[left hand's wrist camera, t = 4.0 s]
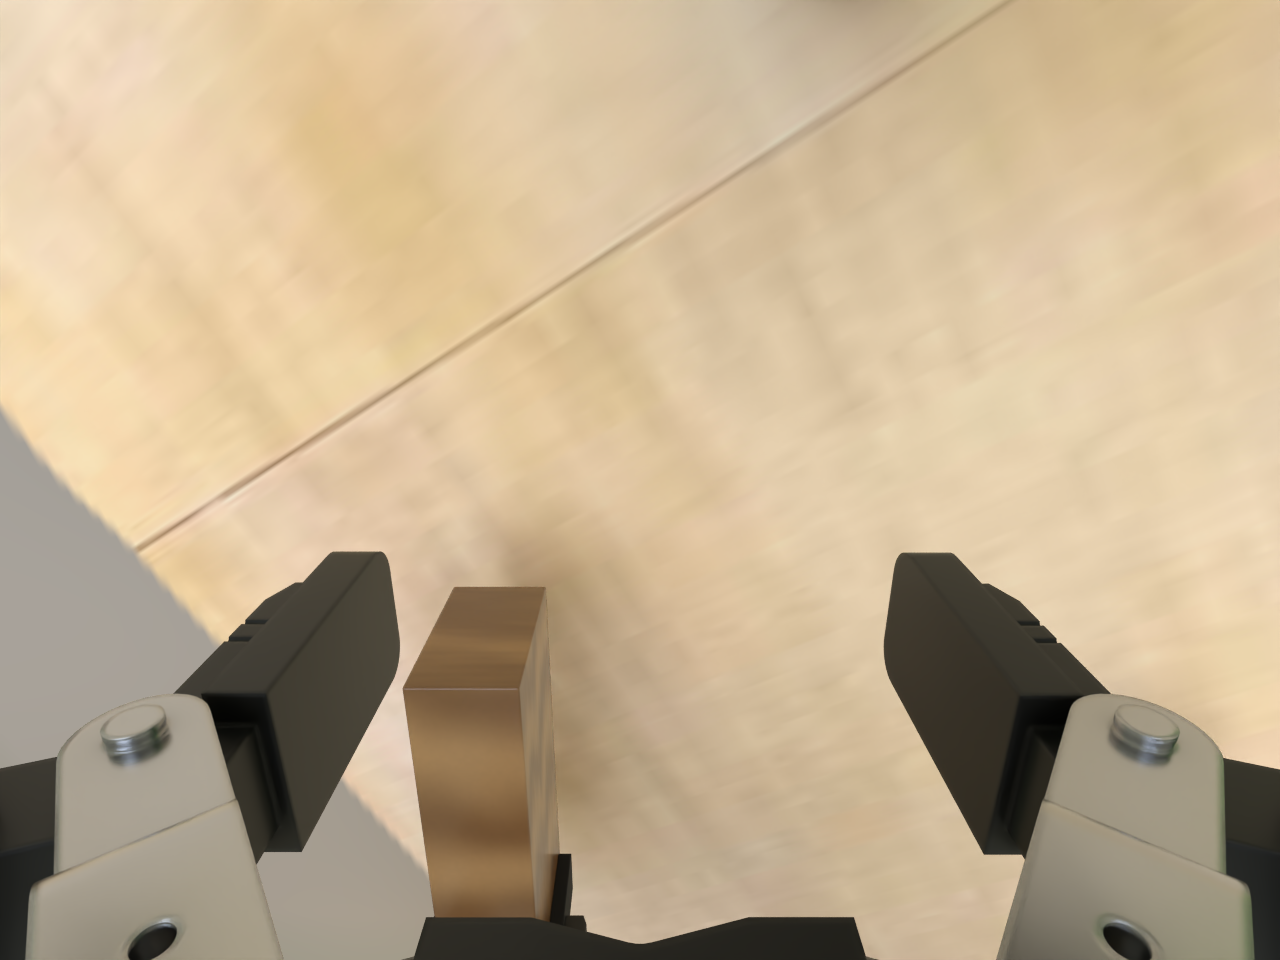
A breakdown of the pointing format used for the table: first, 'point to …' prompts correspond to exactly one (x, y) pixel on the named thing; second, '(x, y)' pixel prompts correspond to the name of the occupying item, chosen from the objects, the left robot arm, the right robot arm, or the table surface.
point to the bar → (486, 754)
